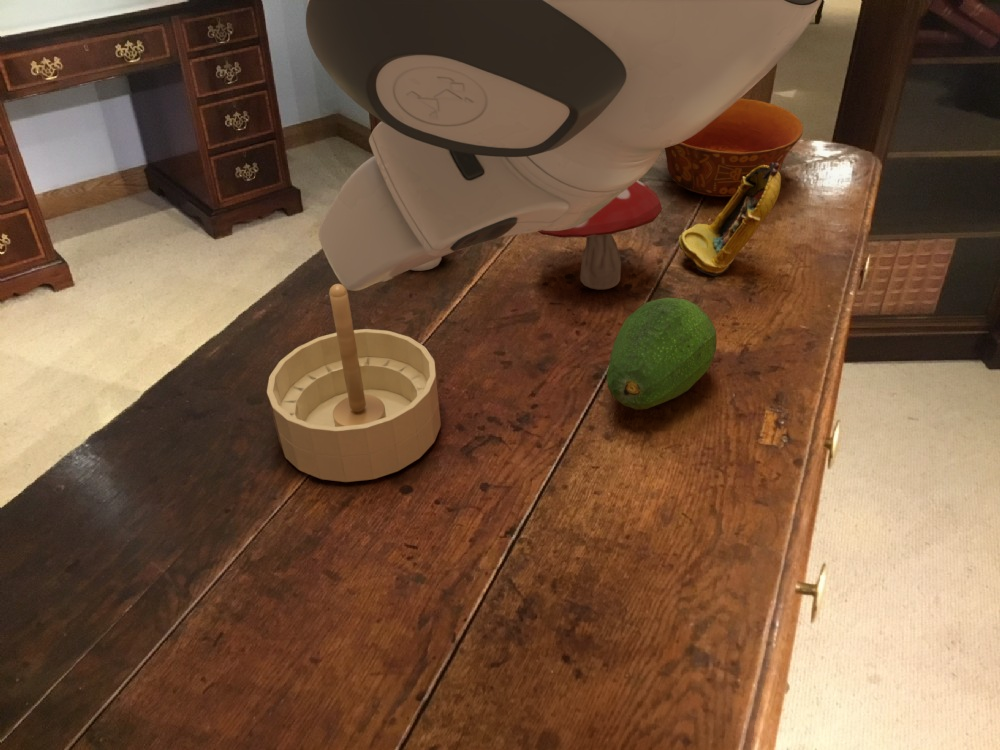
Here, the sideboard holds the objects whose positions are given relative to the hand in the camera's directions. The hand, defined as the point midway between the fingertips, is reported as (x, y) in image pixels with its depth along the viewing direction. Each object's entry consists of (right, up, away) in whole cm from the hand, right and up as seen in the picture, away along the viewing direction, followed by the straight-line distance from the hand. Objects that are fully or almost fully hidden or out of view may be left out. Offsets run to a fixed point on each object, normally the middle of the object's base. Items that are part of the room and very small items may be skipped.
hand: (447, 242), depth 54 cm
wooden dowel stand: (-11, -14, +33) cm, 37 cm away
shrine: (+32, +6, +57) cm, 66 cm away
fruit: (+20, -10, +37) cm, 43 cm away
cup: (-7, +7, +61) cm, 62 cm away
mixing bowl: (-11, -14, +33) cm, 37 cm away
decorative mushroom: (+15, +4, +55) cm, 58 cm away
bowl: (+37, +21, +77) cm, 88 cm away
